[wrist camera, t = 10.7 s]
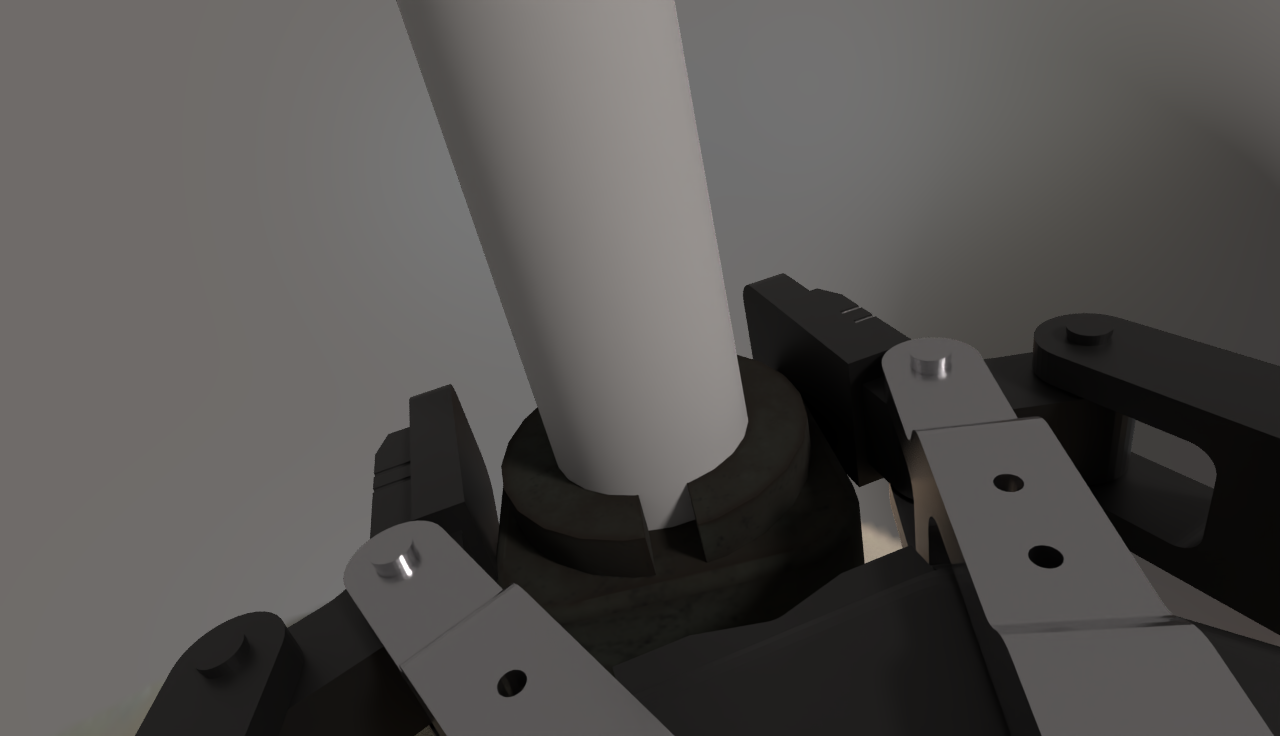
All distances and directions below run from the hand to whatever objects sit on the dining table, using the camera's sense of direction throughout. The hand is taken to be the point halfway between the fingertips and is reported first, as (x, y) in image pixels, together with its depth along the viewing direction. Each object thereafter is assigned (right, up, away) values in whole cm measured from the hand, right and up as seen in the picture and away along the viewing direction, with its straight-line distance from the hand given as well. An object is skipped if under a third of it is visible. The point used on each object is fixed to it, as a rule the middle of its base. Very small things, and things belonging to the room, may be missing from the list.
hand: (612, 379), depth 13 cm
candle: (+4, -12, +4) cm, 13 cm away
